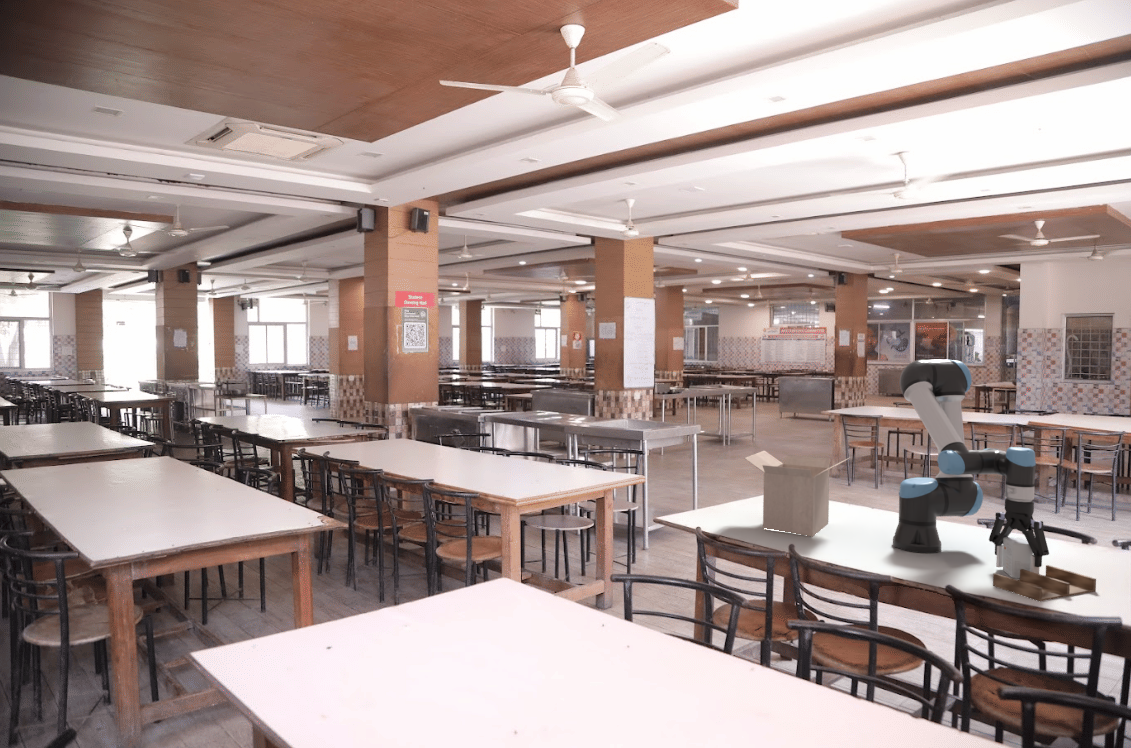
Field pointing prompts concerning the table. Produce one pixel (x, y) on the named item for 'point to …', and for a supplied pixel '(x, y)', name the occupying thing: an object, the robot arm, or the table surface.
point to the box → (794, 492)
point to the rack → (1046, 584)
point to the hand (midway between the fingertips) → (1017, 571)
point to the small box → (1016, 556)
